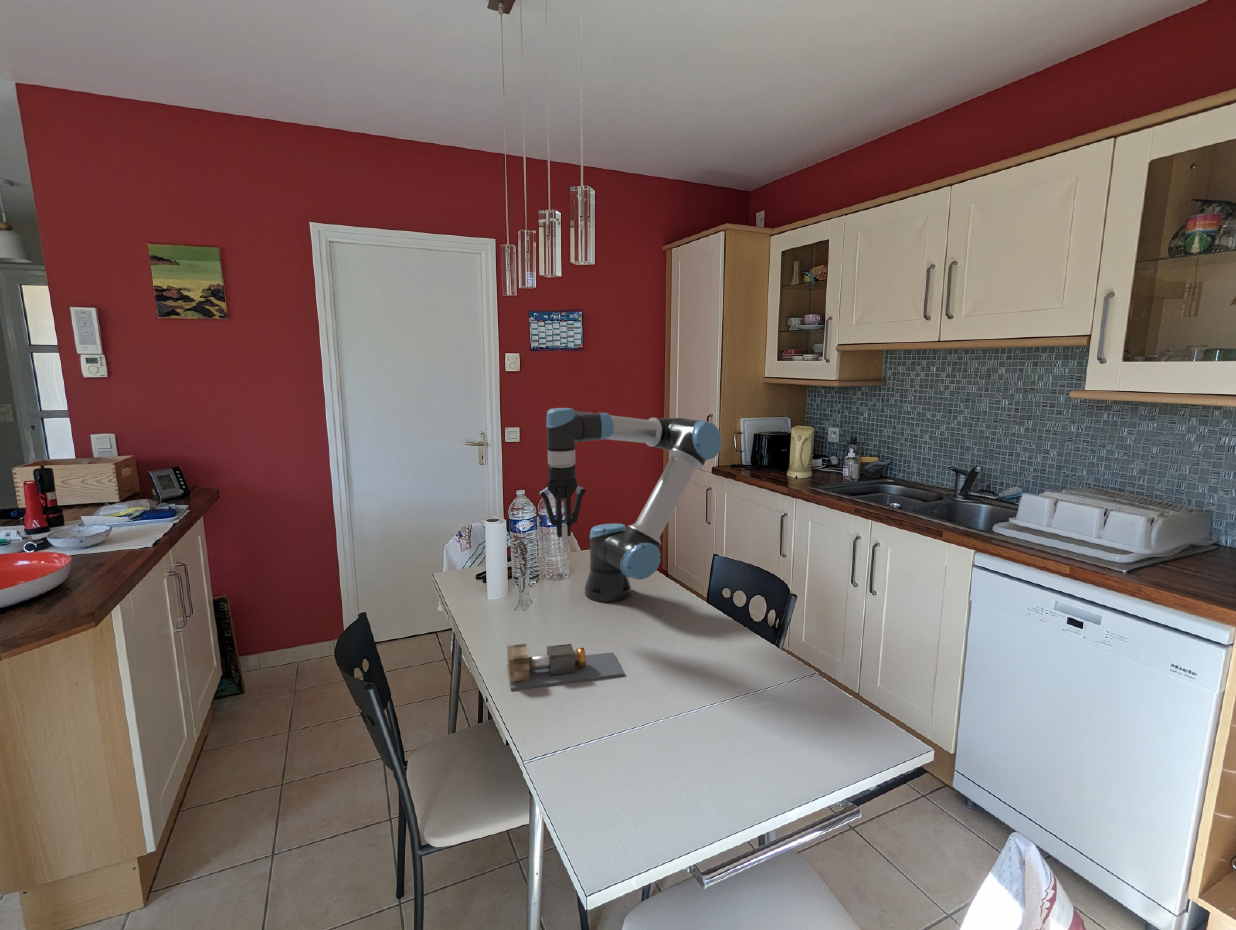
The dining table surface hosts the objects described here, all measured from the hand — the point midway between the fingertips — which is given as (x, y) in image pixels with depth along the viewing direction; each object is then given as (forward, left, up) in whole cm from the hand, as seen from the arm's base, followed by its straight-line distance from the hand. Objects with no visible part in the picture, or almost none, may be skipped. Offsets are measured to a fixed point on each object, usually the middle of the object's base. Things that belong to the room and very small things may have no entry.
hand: (564, 547), depth 165 cm
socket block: (+16, +26, -23) cm, 38 cm away
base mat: (+4, +26, -23) cm, 35 cm away
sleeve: (+5, +26, -23) cm, 35 cm away
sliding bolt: (+8, +26, -22) cm, 35 cm away
